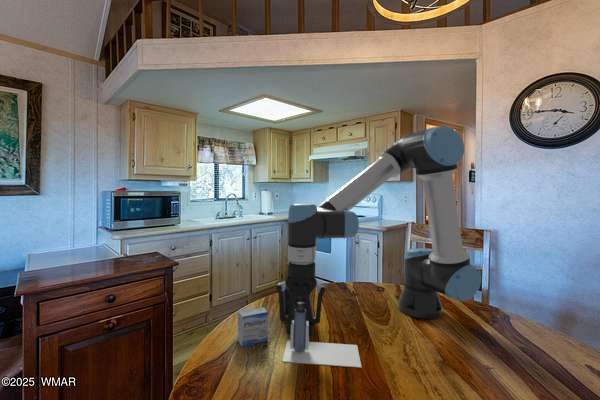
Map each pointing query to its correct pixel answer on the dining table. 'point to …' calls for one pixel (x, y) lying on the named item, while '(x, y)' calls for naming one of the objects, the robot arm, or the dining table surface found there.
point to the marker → (300, 327)
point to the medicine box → (252, 326)
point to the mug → (288, 300)
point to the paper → (324, 354)
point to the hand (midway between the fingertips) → (299, 346)
